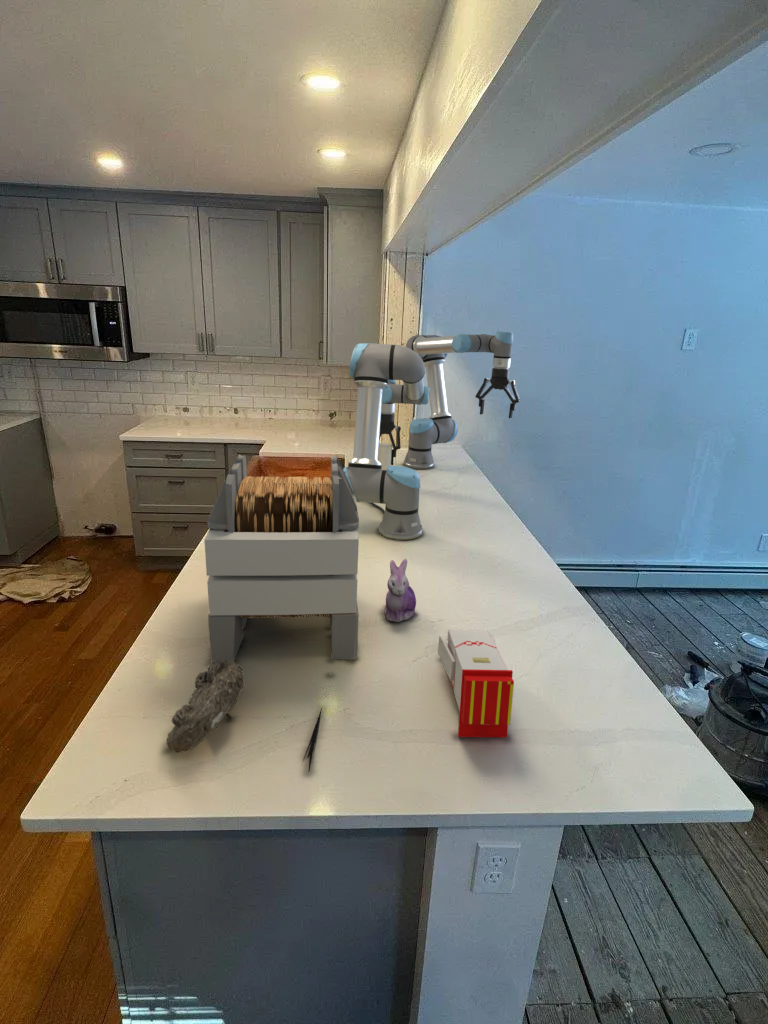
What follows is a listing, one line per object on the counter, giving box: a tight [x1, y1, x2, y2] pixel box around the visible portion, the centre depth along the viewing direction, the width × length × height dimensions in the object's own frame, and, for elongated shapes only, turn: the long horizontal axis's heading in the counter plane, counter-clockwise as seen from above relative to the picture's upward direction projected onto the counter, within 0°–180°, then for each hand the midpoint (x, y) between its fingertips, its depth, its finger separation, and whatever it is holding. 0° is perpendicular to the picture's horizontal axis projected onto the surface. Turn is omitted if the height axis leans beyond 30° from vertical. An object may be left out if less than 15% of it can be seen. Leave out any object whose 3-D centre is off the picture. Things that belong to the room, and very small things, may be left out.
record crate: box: [204, 454, 360, 662], centre depth 134 cm, size 34×33×41 cm
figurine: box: [384, 558, 417, 623], centre depth 145 cm, size 9×10×15 cm
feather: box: [301, 673, 332, 771], centre depth 108 cm, size 2×28×2 cm
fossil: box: [166, 659, 245, 754], centre depth 106 cm, size 22×10×15 cm
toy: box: [437, 628, 515, 738], centre depth 117 cm, size 12×13×30 cm
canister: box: [378, 442, 393, 470], centre depth 252 cm, size 7×7×13 cm
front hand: (383, 464), depth 253 cm, fingers closed on canister, 7 cm apart
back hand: (495, 416), depth 258 cm, fingers open, 13 cm apart
